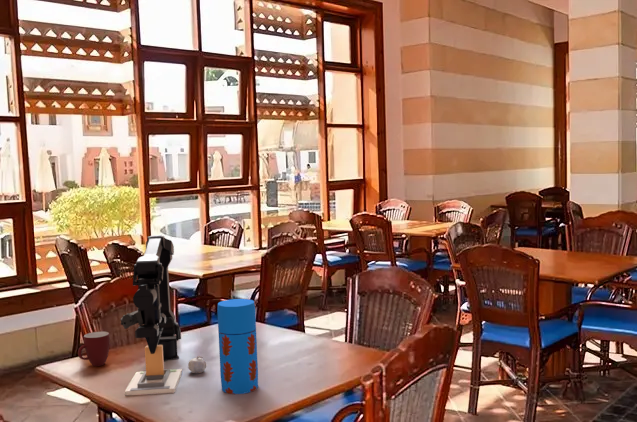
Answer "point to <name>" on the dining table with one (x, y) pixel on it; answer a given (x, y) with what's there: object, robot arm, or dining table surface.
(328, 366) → the dining table surface
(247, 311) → the thermos
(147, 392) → the panel
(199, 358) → the garlic
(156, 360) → the orange upright block
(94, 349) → the mug
